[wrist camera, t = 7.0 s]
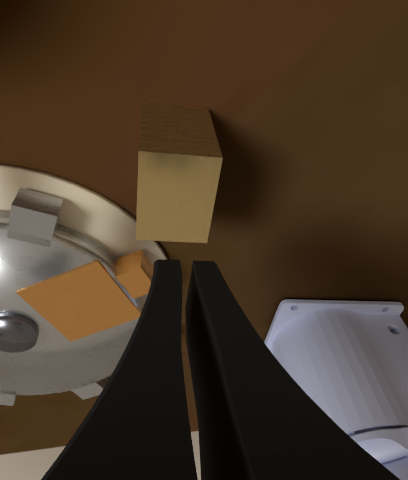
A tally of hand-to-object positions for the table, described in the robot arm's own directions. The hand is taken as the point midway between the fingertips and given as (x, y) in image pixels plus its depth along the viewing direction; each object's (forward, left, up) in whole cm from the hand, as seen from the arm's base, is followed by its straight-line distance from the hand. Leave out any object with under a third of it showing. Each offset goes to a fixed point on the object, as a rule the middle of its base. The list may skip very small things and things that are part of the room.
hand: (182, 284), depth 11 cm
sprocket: (+9, +11, -9) cm, 17 cm away
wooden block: (0, 0, -10) cm, 10 cm away
